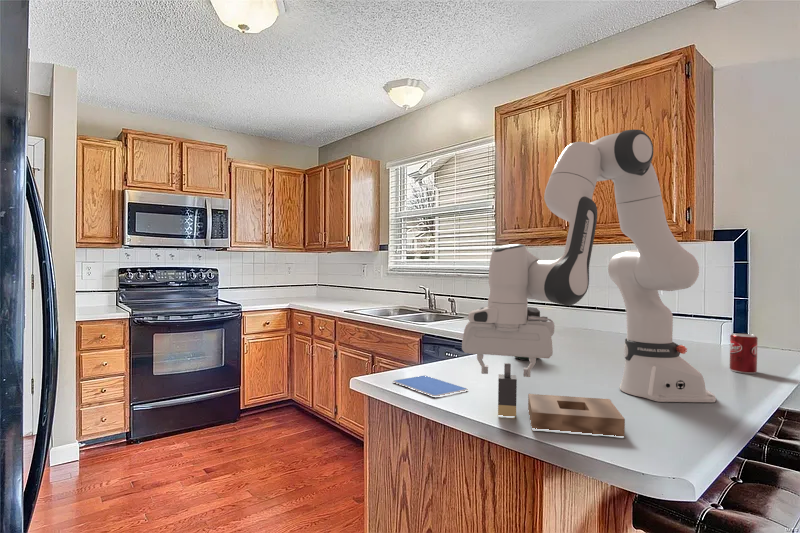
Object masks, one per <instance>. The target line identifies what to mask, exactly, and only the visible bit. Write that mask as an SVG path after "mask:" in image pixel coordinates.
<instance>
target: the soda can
mask: <svg viewBox="0 0 800 533" xmlns="http://www.w3.org/2000/svg"><path fill="white" fill-rule="evenodd" d="M758 342H759V340H758V336H757V335H755V334H749V333H734V332H733V333H731V334H730V336H729V370H730V371H732V372H734V373H739V374H745V375H753V374H756V373H757V372H758Z"/></svg>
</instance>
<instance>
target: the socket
mask: <svg viewBox="0 0 800 533" xmlns="http://www.w3.org/2000/svg"><path fill="white" fill-rule="evenodd" d="M527 398H528V399H527V401H528V403H527V406H528V408H527V409H528V410H529V412H528V416H529V415H530V418H529V421H530V420H531V423H530V427H531V426H532V428H535V429H536V428H537V429H549V430H560V431H571V432H582V433H592V434H603V435H614V436H615V435H616V436H624V437H625V431H626V428H625V427H626V426H625V425H626V423H625V422H626V419H625V417H624V416H623V415H622V414H621V412H620V411H619V410H618V408H617V407H616V406H615V405H614V403H613V402H612V400H611V399H610V398H598V397H585V396H584V397H583V396H567V395H553V394H551V395H550V394H536V393H528V397H527ZM528 410H527V411H528Z"/></svg>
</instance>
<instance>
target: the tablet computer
mask: <svg viewBox="0 0 800 533" xmlns="http://www.w3.org/2000/svg"><path fill="white" fill-rule="evenodd" d="M425 376H426V377H425ZM431 377H432V376H429V377H428V376H427V375H420V376H419V377H418V376H414V377H413V376H412V377H407V378H401V379H394V380H393V381H392V383H393V382H395V383H398V384H401V385H404V386H407V387H410V388H413V389H415V390H417V391H421V392H423V393H426V394H429V395H432V396H440V395H445V394H450V393H454V392H460V391H465V390H468V391H469V389H468V388H466V387H463V386H460V385H457V384H454V383H450V382H446V381H444V380H441V379H437V378H435V377H432V378H431Z"/></svg>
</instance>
